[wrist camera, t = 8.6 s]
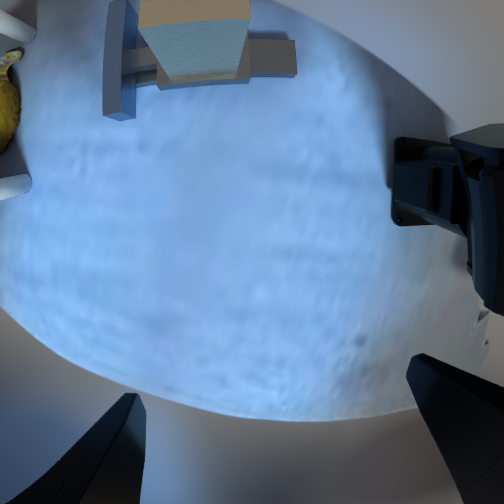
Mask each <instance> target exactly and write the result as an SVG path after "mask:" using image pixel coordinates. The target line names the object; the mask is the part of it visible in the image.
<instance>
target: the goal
mask: <svg viewBox="0 0 504 504" xmlns="http://www.w3.org/2000/svg"><path fill="white" fill-rule="evenodd" d="M36 34H37V31H36V29H34V28H32V27H31V26H29V25H27V24H26V23H24V22H22V21H20V20H19V19H17V18H15V17H13V16H11V15H10V14H8V13H6V12H4V11H2V10H0V57H1V56H2V55H4V54H6V53H7V52H10V51H11V50H13V49H15V48H17V47H19V46H21V45H23V44H29V43H31V42H32V41H33V40H34V38H35V37H36ZM31 186H32V180H31V177H30V176H29V175H28V174H21V175H16V176H10V177H6V178H1V179H0V201H1V200H4V199H7V198H10V197H13V196H17V195H20V194H23V193H27V192H29V191H30V189H31Z"/></svg>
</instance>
